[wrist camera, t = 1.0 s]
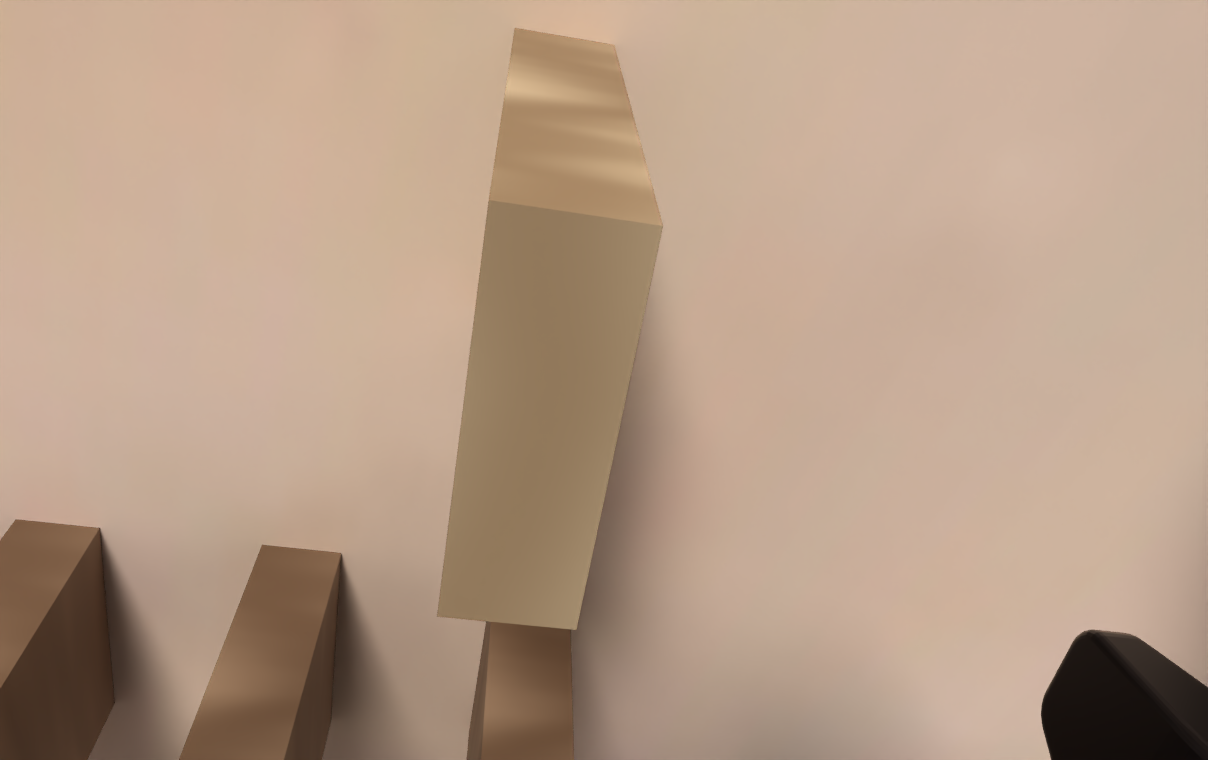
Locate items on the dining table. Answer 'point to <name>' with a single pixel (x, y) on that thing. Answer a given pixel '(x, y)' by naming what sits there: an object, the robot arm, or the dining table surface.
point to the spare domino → (549, 336)
